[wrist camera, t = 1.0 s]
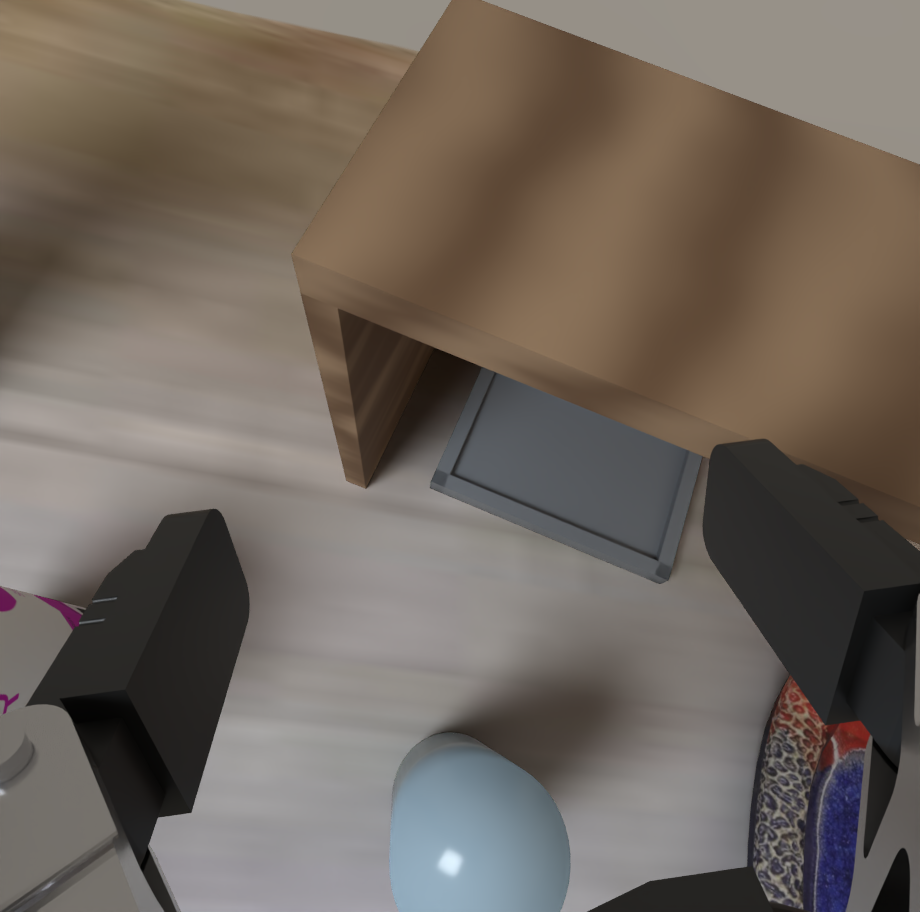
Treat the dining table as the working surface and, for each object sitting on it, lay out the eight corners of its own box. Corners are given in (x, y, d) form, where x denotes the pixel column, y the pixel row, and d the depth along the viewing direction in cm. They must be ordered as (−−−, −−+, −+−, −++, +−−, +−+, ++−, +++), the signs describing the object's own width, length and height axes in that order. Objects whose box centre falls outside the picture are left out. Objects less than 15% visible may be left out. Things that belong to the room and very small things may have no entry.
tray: (429, 487, 36) (430, 481, 35) (486, 361, 39) (489, 351, 38) (659, 583, 35) (668, 580, 34) (697, 447, 38) (707, 440, 37)
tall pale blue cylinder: (372, 833, 30) (358, 921, 18) (419, 714, 32) (432, 728, 20) (482, 882, 29) (535, 1002, 18) (522, 759, 31) (592, 799, 20)
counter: (346, 480, 35) (291, 254, 17) (429, 315, 40) (457, -9, 21) (695, 627, 34) (1042, 556, 16) (741, 442, 39) (1058, 216, 20)
